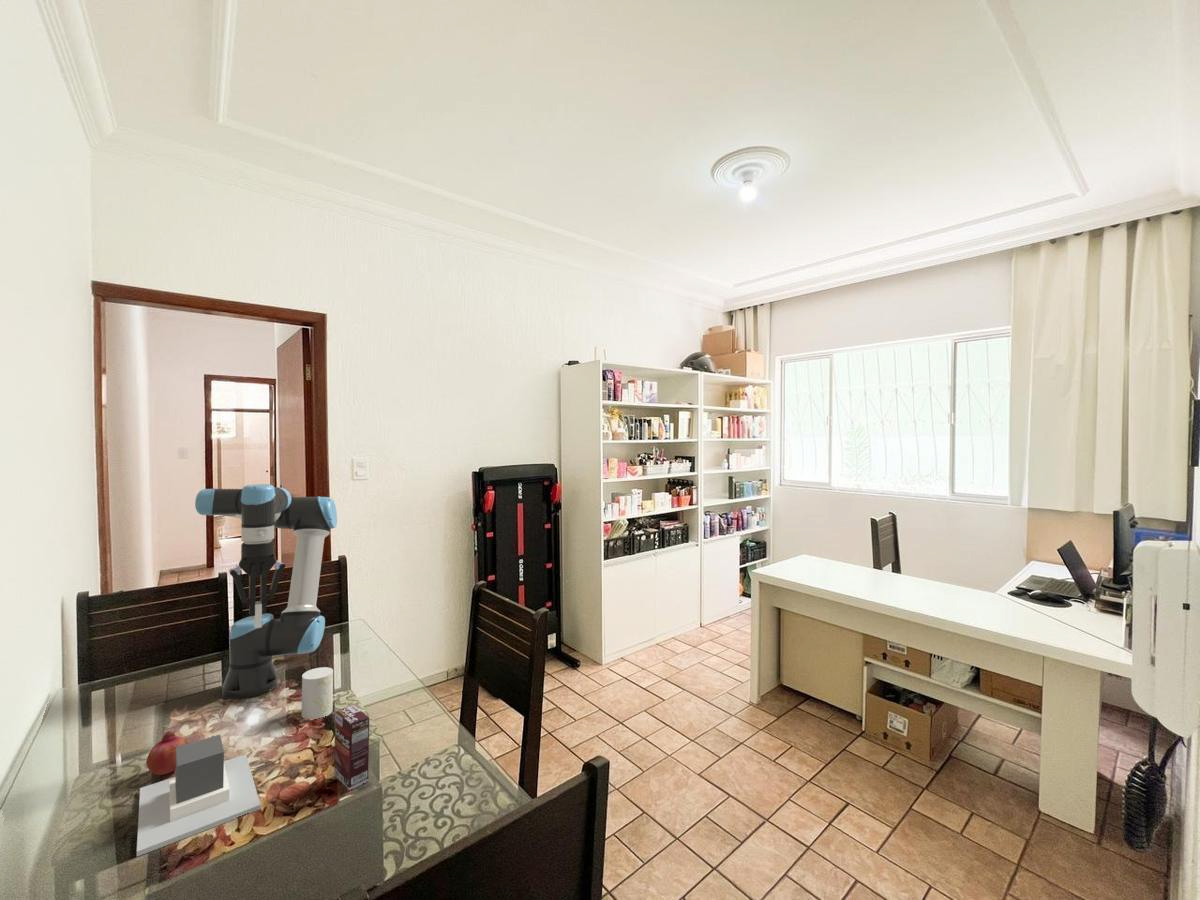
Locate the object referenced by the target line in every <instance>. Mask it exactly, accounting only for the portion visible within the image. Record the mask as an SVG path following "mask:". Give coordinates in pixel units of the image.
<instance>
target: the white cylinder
mask: <svg viewBox="0 0 1200 900" xmlns="http://www.w3.org/2000/svg"><path fill="white" fill-rule="evenodd" d="M333 694H334V669H333V668H331V667H329V666H328V667H327V666H325V667H321V666H320V667H316V668H312V669H309V670H306V671H305V672H304V673H303V674H302V676H301V718H302V717H303V718H306V719H314V718H321V717H324V718H326V717H328V716H329V715H331V714H332V712H333V709H334V708H333V707H334V706H333V705H334V704H333V703H334V697H333V696H334V695H333ZM325 716H326V717H325ZM321 719H322V718H321Z"/></svg>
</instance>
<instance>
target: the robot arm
mask: <svg viewBox="0 0 1200 900" xmlns="http://www.w3.org/2000/svg"><path fill="white" fill-rule="evenodd" d="M196 494H197V495H196V497H195V500H194V501H195V502H194V504H195V505H194V506H195V510H196V512H197V513H198V514H199V515H200V516H201V515H202V516H211V517H213V516H224V517H230V518H236V519H241V531H240V532H241V533H240V534H241V535H240V536H241V537H240V539H241V542H242V543H241V547H240V548H241V549H240V550H241V551H240V554H241V556H240V557H241V558H240V561H239V563H238V565H237V566H235V567H233V568H230V569H229V570H228V572H229V574H230V575H231V577H232V578H233V579H234V582H235V585H236V589H237V592H238V595H239V598H240V601H241V603H242V604H243V605H248V615H249V616H247V617H244V618H241V619H239V620H237V621H235V622H234V623H233V624H232V625H231V626H230V632H229V637H228V639H229V640H228V641H229V643H228V644H229V649H228V650H229V653H228V657H229V658H228V659H229V661H228V663H229V665H228V666H229V668H228V670H227V671H228V672H227V674H226V677H225V679H224V682H223V684H222V687H221V695H222V697H223V698H225V699H228V700H241V699H248V698H252V697H257V696H260V695H263V694H265V693H264V692H266V693H267V691H268V692H269V690H270V689H272V688H273V687H274V688H276V687H277V686H276V685H278V684H277V683H279V676H278V673H277V670H276V667H275V664H274V662H273V656H274V657H275V656H289V655H291V656H292V655H303V654H309V653H314V652H315V651H316V650H317V649H318V648H319V646H320V644H321V642H322V639H323V637H324V632H325V627H326V618H325V616H323V615H321V610H320V609H319V608H318V607H317V601H318V594H319V586H320V584H319V583H320V579H321V577H320V576H321V571H322V569H321V568H322V563H323V554H324V553H323V552H324V545H325V538H326V537H328V536H330V533H331V530H332V529H335V528H336V527H337V522H338V513H337V512H338V511H337V507H336V503H335V500H333V498H332V497H329V496H292V495H291V493H290V492H289V490H287V489H286V488H284V487H279V486H278V487H275V486H274V485H272V484H265V483H264V484H263V483H262V484H259V483H258V484H248V485H245V486H243V487H242V488H216V487H213V488H204V489H201V490H200V491H198V493H196ZM275 529H280V530H281V529H282V530H293V532H292V533H293V534H294V536H295V537H296V543H295V544H296V545H295V550H294V559H293V565H292V570H291V571H292V574H291V580H290V585H289V586H290V587H289V594H288V600H287V606H286V608H285V609H284V610H282V611H281V614H280V618H274V615H273V614H272V613H267V603H268V601H270V600H274V599H275V596H276V593H277V589H278V586H279V582H280V578H281V574H282V573H283V571H284V570H285V568H286V564H285V563H284V562H283V561H282V562H280V561H278V560H277V558H276V556H275V541H274V539H275ZM273 567H274V571H273V576H272V579H271V583H270V587H269V589H268V581H267V580H268V573H269V572H270V571H271V569H272V568H273ZM241 570H242V571H243V572H244V573H246V575H247V576H248V597H247V595H246V591H245V588H244V586H243V582H242V579H241V576H240V575H241V573H242V571H241ZM257 576H259V577H260V578H259V579H260V580H259V582H260V583H259V589H260V592H259V593H260V594H259V596H260V598H259V599H260V600H258V601H256V592H257V591H256V588H257V586H256V584H257V583H256V582H257V581H256V579H257ZM267 592H268V593H267ZM275 686H276V687H275ZM274 688H273V689H274ZM273 689H272V690H273ZM270 691H271V690H270ZM262 693H263V694H262ZM259 694H260V695H259Z"/></svg>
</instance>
